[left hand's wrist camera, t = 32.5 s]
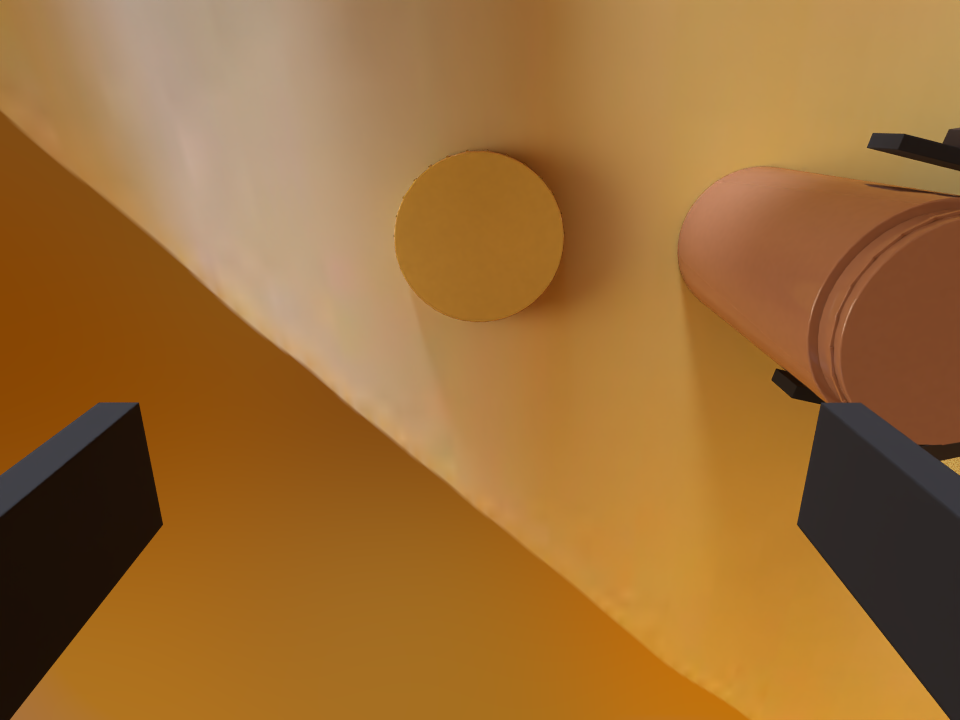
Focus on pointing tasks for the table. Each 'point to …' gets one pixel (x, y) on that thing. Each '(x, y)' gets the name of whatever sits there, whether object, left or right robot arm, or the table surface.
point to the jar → (838, 287)
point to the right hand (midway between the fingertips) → (830, 269)
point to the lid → (479, 236)
